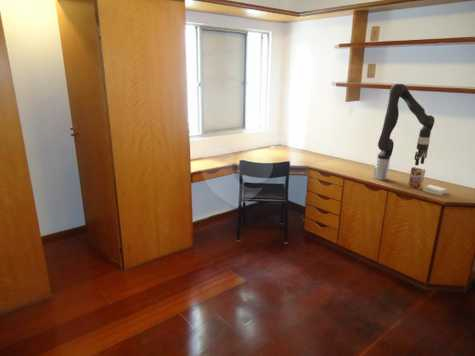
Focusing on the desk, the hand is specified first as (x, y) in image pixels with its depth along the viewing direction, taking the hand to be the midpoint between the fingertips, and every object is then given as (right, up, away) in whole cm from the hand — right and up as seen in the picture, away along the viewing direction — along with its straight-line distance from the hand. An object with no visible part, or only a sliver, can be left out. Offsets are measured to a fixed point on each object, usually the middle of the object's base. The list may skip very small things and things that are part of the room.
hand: (419, 164), depth 253 cm
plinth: (+10, -20, -2) cm, 23 cm away
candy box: (-1, -18, +6) cm, 19 cm away
